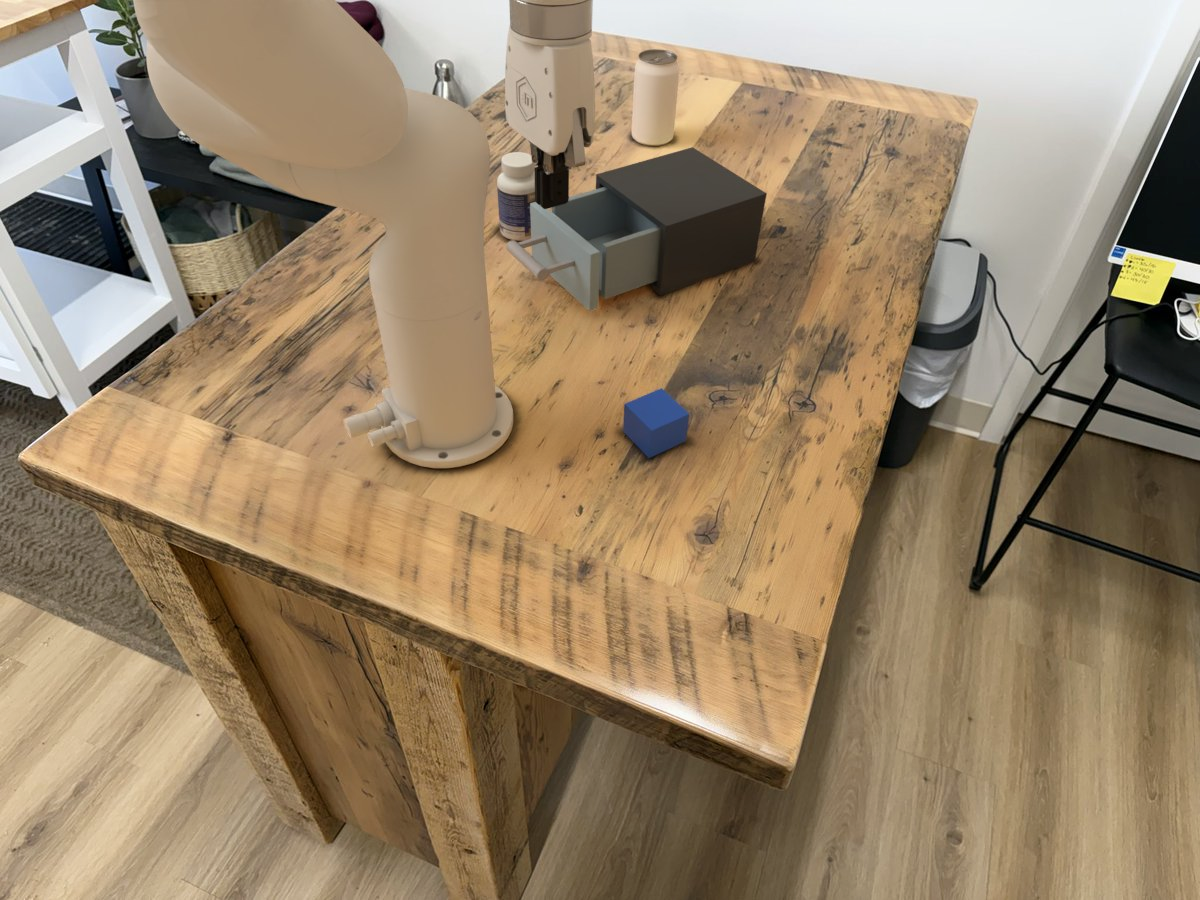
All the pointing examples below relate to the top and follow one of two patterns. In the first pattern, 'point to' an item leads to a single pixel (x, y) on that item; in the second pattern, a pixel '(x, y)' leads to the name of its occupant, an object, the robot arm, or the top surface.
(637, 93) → the can
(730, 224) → the small storage cabinet
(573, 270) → the drawer
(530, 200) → the pill bottle
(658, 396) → the matte blue toy brick
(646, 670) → the top surface
